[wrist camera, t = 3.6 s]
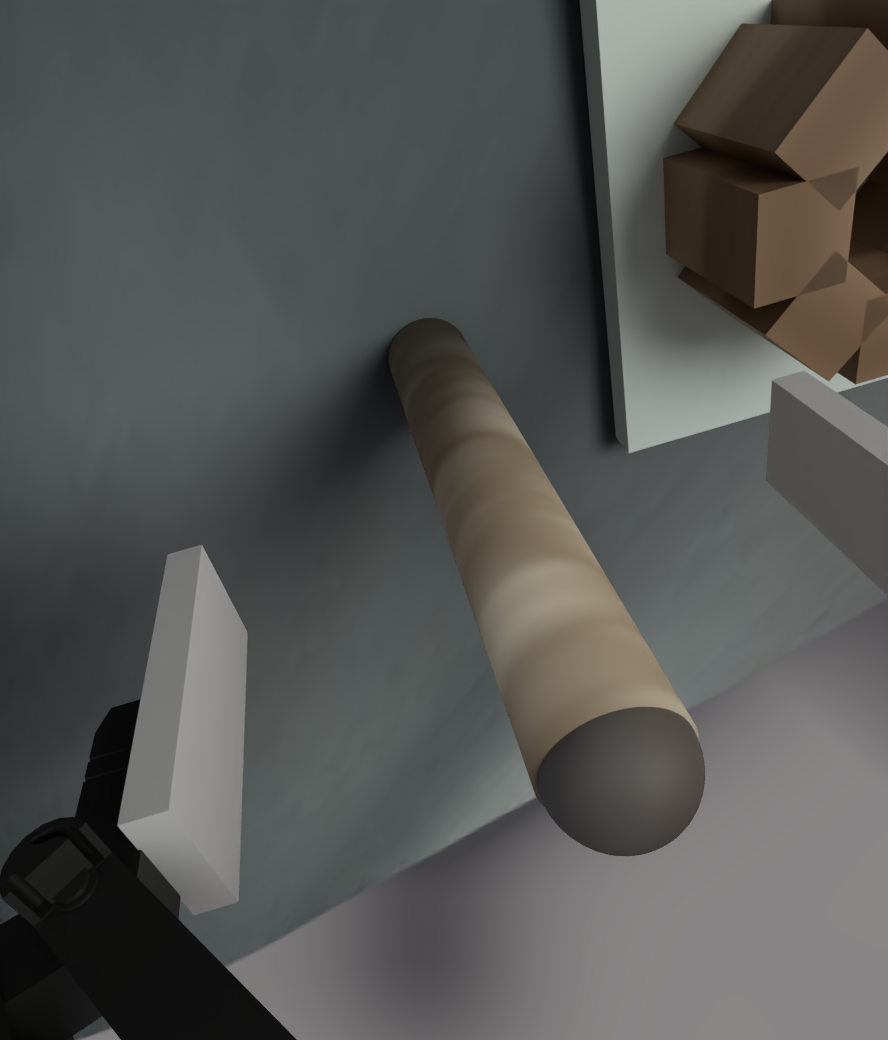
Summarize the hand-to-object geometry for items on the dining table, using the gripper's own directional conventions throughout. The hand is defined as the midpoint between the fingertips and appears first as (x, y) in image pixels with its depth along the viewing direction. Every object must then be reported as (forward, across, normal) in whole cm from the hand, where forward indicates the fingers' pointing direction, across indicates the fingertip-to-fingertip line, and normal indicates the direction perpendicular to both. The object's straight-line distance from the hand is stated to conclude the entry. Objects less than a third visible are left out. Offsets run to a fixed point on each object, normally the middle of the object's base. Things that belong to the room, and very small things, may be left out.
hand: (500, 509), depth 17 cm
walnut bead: (+8, +12, +3) cm, 15 cm away
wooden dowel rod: (+9, 0, 0) cm, 9 cm away
